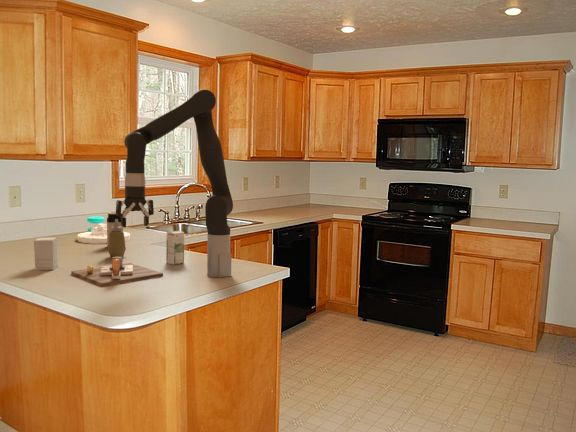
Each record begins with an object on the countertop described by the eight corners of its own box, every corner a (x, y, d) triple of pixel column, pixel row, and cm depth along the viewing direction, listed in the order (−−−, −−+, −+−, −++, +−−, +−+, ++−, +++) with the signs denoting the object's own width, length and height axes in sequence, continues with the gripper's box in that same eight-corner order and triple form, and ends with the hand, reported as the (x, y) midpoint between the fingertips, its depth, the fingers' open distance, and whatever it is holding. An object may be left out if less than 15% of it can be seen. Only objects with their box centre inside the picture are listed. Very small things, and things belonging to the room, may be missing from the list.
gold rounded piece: (94, 273, 205) (94, 266, 205) (88, 274, 204) (88, 267, 203) (91, 272, 207) (91, 265, 207) (86, 273, 205) (86, 266, 205)
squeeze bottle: (129, 257, 246) (128, 219, 244) (113, 259, 240) (112, 220, 238) (120, 254, 251) (119, 217, 249) (104, 256, 245) (104, 219, 243)
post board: (163, 276, 210) (163, 258, 209) (102, 286, 191) (101, 267, 190) (130, 265, 227) (129, 249, 227) (71, 274, 209) (70, 256, 208)
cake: (78, 245, 275) (77, 227, 274) (76, 237, 301) (76, 221, 299) (132, 243, 286) (132, 226, 285) (127, 235, 312) (126, 220, 311)
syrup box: (176, 261, 239) (176, 230, 237) (184, 263, 235) (184, 231, 234) (166, 263, 235) (166, 231, 233) (174, 265, 231) (174, 232, 229)
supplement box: (58, 266, 222) (57, 237, 221) (53, 270, 215) (52, 240, 214) (39, 266, 221) (38, 237, 220) (34, 270, 214) (33, 240, 213)
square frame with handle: (102, 268, 213) (102, 251, 212) (132, 267, 216) (132, 250, 216) (99, 279, 195) (99, 260, 194) (132, 278, 198) (132, 259, 197)
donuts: (102, 218, 309) (85, 218, 308) (102, 234, 310) (85, 234, 309) (106, 216, 319) (89, 216, 318) (106, 232, 320) (89, 232, 319)
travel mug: (125, 245, 276) (125, 212, 274) (119, 248, 268) (119, 213, 266) (111, 244, 277) (110, 211, 275) (104, 247, 269) (104, 213, 267)
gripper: (149, 184, 207) (148, 224, 209) (113, 184, 199) (113, 226, 201) (156, 185, 201) (156, 226, 203) (120, 185, 193) (120, 228, 195)
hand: (135, 226), depth 202 cm, fingers open, 8 cm apart
